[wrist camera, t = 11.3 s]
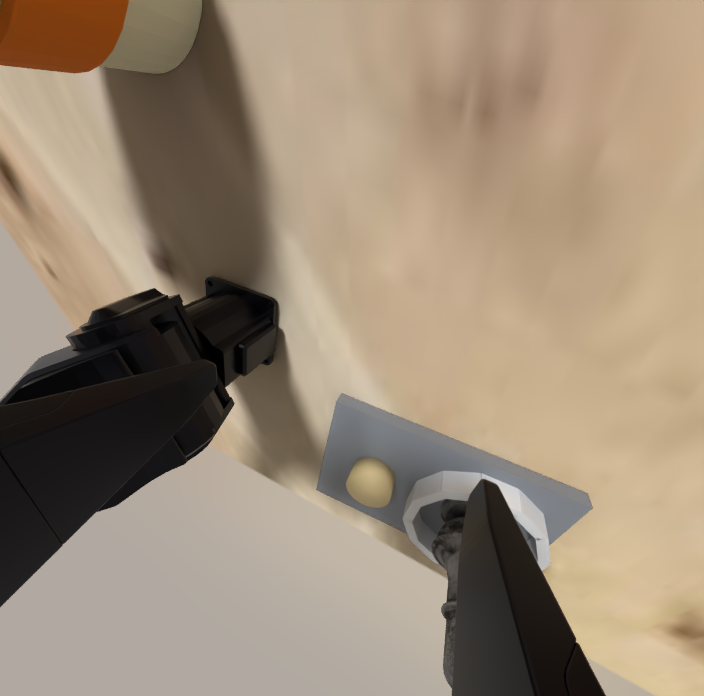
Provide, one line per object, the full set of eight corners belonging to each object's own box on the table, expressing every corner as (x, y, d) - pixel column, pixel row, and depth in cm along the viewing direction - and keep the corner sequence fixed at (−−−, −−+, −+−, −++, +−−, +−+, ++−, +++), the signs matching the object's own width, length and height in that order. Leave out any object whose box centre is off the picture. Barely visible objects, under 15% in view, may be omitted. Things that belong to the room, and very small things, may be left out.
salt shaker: (426, 518, 28) (398, 699, 19) (452, 482, 25) (434, 680, 15) (489, 548, 27) (494, 757, 18) (524, 515, 24) (554, 750, 14)
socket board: (321, 480, 33) (307, 506, 31) (341, 393, 26) (326, 417, 24) (506, 568, 30) (508, 606, 27) (587, 493, 23) (602, 535, 20)
